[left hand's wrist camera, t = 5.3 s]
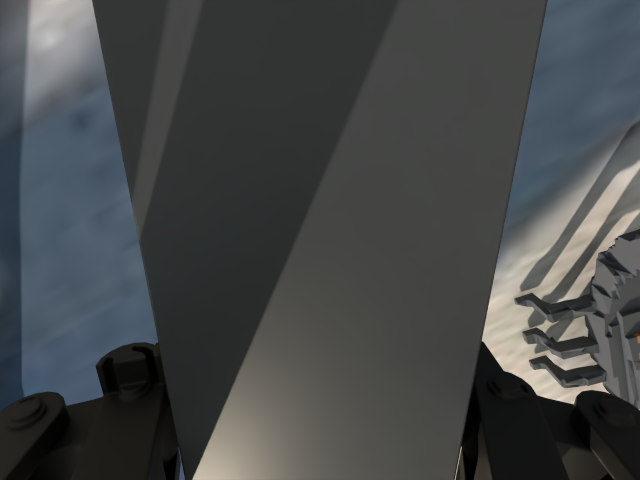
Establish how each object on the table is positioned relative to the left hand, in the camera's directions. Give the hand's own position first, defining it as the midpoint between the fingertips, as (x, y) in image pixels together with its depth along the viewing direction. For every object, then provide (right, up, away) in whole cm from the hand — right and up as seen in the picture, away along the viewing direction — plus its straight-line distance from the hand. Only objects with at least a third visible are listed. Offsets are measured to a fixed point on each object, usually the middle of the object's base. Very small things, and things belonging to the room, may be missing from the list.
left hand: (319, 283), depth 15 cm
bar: (0, +7, -2) cm, 7 cm away
